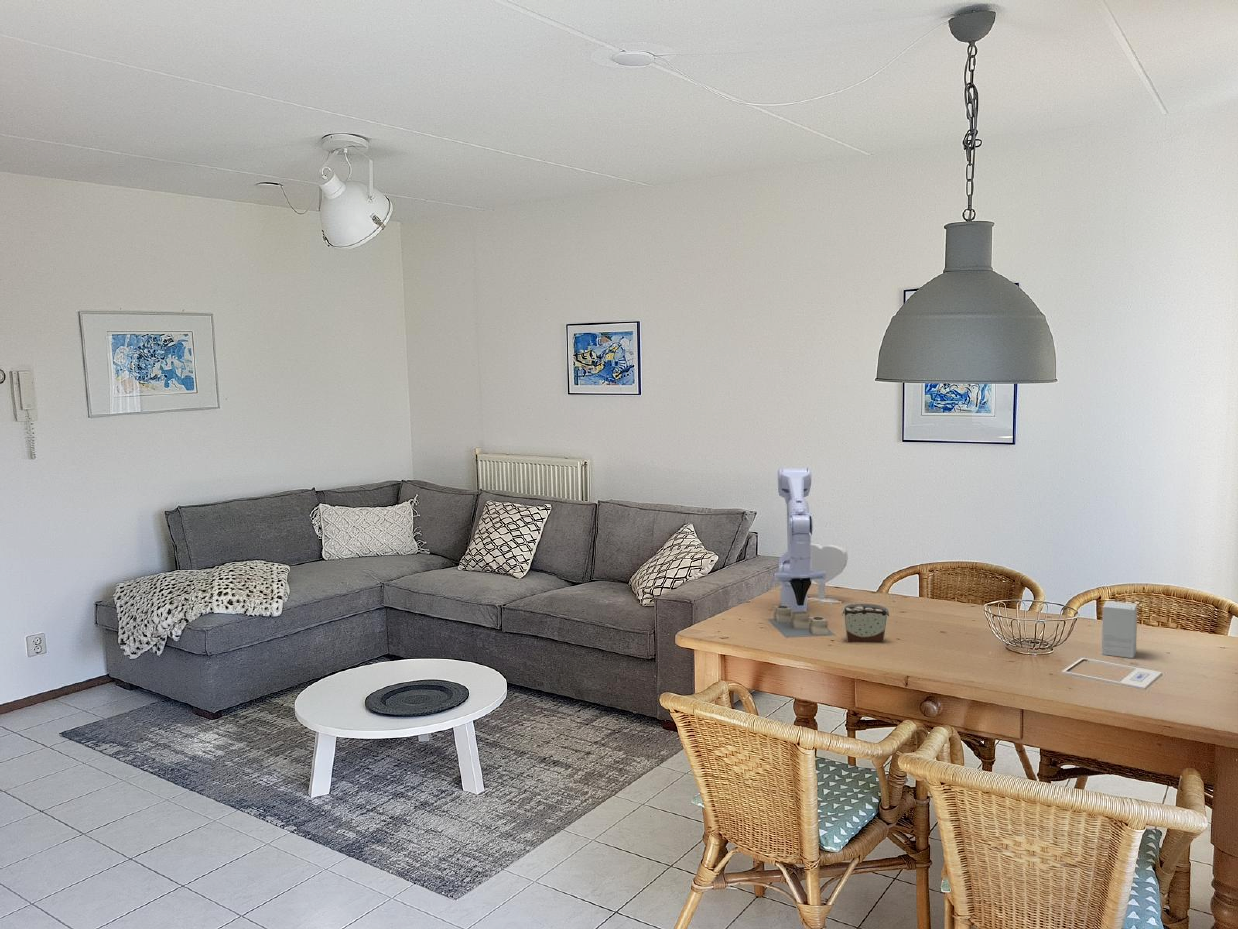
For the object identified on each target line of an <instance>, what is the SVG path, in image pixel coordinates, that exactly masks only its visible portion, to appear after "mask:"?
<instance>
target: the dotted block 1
mask: <svg viewBox="0 0 1238 929" xmlns="http://www.w3.org/2000/svg"><path fill="white" fill-rule="evenodd" d="M773 611H774V612H773V618H774V620H775V621H776V622H778V623H787V622H791V611H792V609H791V608H790V607H789V606H788V605H784V606H781V605H773Z"/></svg>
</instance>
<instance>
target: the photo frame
mask: <svg viewBox="0 0 1238 929" xmlns="http://www.w3.org/2000/svg"><path fill="white" fill-rule="evenodd" d="M1082 661H1087V662H1089V663H1095V664H1101V665H1106V666H1110V667H1111V666H1112V667H1117V668H1123V669H1128V670H1131V672H1130V673H1129V674H1128V675H1127V676H1125V677H1124V678H1122V680H1120V681H1118V680H1113V679H1111V680H1110V679H1108V678H1107V679H1106V678H1101V677H1096V676H1091V675H1086V674H1082V673H1081V674H1080V673H1076V672H1071V671H1068V670H1069V669H1070V668H1072V667H1074V666H1075V665H1076V664H1078V663H1079V662H1082ZM1132 670H1133V671H1132ZM1061 674H1063V675H1067V674H1068V675H1069V676H1073V677H1078V678H1083V679H1087V678H1088V680H1094V681H1100V682H1104V683H1109V684H1113V685H1118V686H1119V685H1120V686H1123V687H1130V688H1134V689H1139V690H1146V689H1147V688H1148V687H1150V685H1152V684H1153V683H1154V682H1155V681H1156V680H1157V679H1158V678H1160V676H1161V674H1162V675H1163V672H1162V671H1158V670H1152V669H1147V668H1141V667H1135V666H1130V665H1125V664H1120V663H1114V662H1108V661H1102V660H1099V659H1098V660H1097V659H1093V658H1087V657H1080V658H1079V659H1078V660H1076V661H1075V662H1072V663H1071V664H1070V665H1068V666H1067V667H1066V668H1064V669H1063V670H1061Z"/></svg>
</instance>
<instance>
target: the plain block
mask: <svg viewBox="0 0 1238 929" xmlns="http://www.w3.org/2000/svg"><path fill="white" fill-rule="evenodd" d="M809 617H810V613H808V611H807V612H806V611H791V625H792V626H793V627H794V628H795V629H803V628H809Z"/></svg>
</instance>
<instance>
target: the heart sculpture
mask: <svg viewBox="0 0 1238 929" xmlns="http://www.w3.org/2000/svg"><path fill="white" fill-rule="evenodd" d="M848 559H849V558H848V552H847V550H846V549H845V548H844V547H842V546H840V545H836V544H827V545H825V546H823V545H822V544H819V543H812V542H811V564H812V571H824V572H826V579H812V581H813V582H815V583H816V584H817V585H818V593H817V594H818V596H809V597H810V598H808V599H815V600H820V601H822V602H821V603H826V602H827V603H828V602H839V601H838V600H839V599H835V598H829V597H826V584H827V583H828V582H830V581H832V580H833V579H835V578H836V577H838V576H839V575H840V574H842V573H843V571H844V570H845V568H846V566H847V563H848Z"/></svg>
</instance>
